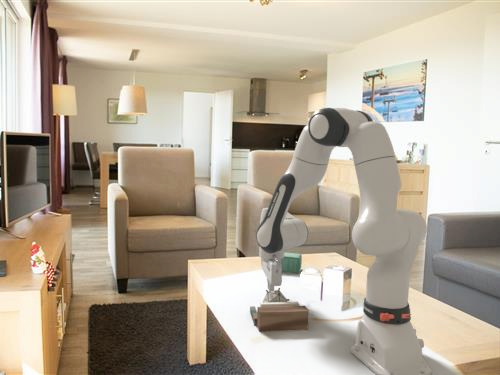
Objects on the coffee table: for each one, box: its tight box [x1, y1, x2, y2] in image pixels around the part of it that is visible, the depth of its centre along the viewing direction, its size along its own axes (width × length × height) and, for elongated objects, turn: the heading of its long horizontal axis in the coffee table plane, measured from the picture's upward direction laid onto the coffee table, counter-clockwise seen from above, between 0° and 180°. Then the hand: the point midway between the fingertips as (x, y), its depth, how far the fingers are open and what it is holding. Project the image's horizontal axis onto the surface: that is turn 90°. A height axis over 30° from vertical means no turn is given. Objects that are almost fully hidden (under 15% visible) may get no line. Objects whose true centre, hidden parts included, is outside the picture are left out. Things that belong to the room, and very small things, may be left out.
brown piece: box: [249, 305, 310, 333], centre depth 146 cm, size 15×17×6 cm
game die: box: [262, 287, 290, 303], centre depth 152 cm, size 9×8×10 cm
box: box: [280, 251, 303, 275], centre depth 200 cm, size 7×14×8 cm, turn 77°
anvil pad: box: [259, 301, 300, 307], centre depth 146 cm, size 2×12×5 cm, turn 97°
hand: (270, 290), depth 161 cm, fingers closed
